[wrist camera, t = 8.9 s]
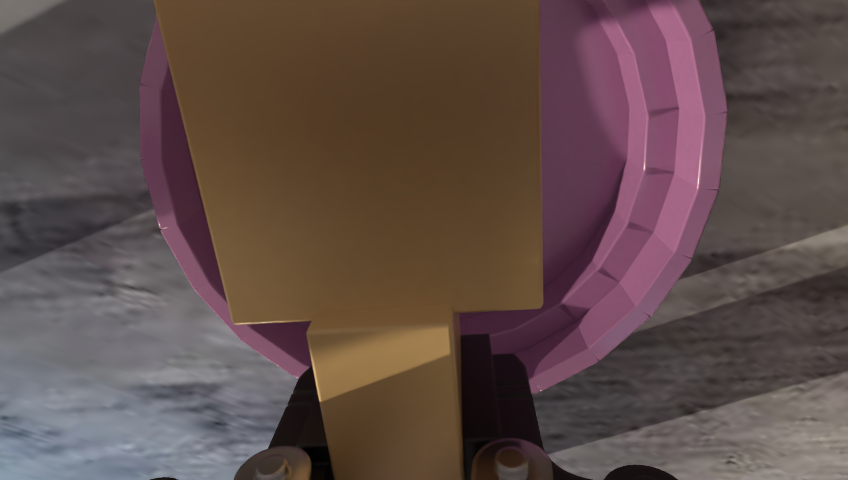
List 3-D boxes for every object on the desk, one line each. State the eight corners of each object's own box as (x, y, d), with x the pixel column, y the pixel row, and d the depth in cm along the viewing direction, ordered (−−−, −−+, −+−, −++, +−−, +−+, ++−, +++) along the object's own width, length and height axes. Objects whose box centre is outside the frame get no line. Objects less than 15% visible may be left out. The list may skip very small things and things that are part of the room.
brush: (526, 481, 14) (553, 645, 10) (335, 486, 14) (294, 646, 11) (511, -52, 10) (548, -103, 6) (238, -22, 10) (110, -53, 6)
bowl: (251, 356, 28) (212, 420, 24) (144, -95, 21) (57, -131, 16) (655, 335, 27) (697, 399, 22) (690, -160, 20) (764, -220, 15)
